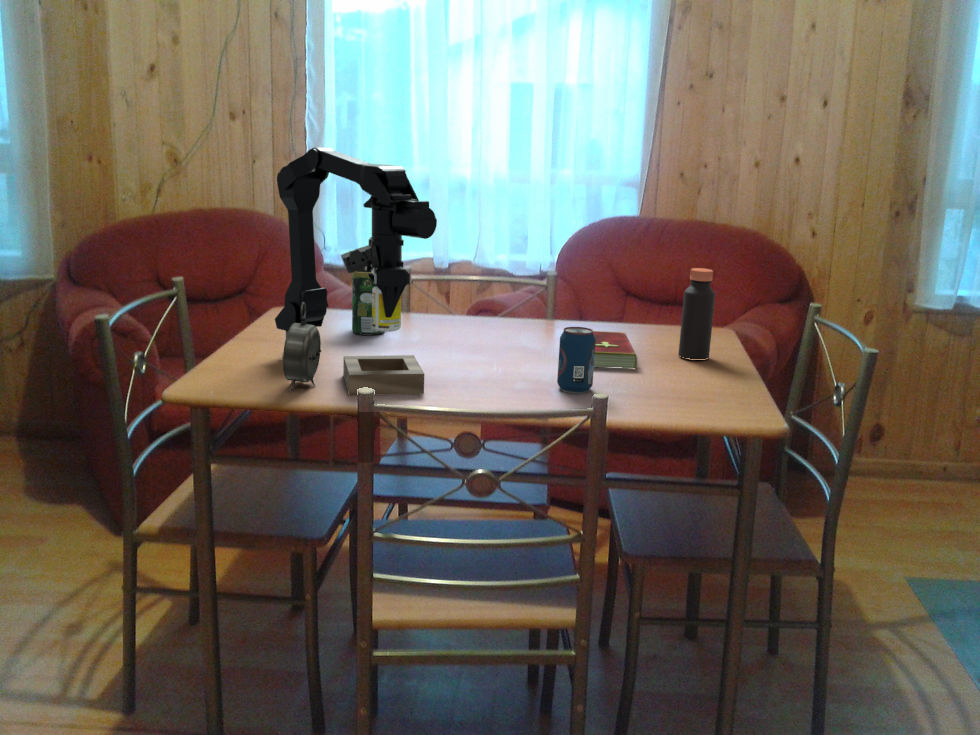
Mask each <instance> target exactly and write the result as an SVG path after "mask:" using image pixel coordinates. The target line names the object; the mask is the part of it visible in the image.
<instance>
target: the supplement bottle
mask: <svg viewBox="0 0 980 735" xmlns="http://www.w3.org/2000/svg"><path fill="white" fill-rule="evenodd" d="M401 325H402V296H401V297H400V299H399V301H398V303H397V305H396V308H395V310H394V312H393V314H392V317H386V316H385V312H384V306H383V300H382V294H381V290H380V289H379V288H378V287H377V286H375V287H374V288H373V289H372V327H373V329H374V330H377V331H382V333H384V332H387V333H388V332H389V333H390V332H391V333H392V332H397V331H398V330H400V329H401Z"/></svg>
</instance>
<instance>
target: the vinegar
mask: <svg viewBox="0 0 980 735" xmlns="http://www.w3.org/2000/svg"><path fill="white" fill-rule="evenodd" d="M689 271H690V272H689V279H690V280H689V282H690V285H689V286H688V287H687V288H686V289H685V290H684V292H683V300H682V301H683V302H682V310H681V312H682V314H681V324H680V332H679V333H680V334H679V344H678V357H679V356H681V357H684V358H690V359H706V358H708V359H709V357H710V351H711V341H712V331H713V321H714V320H713V319H714V310H715V301H716V300H715V299H716V293H715V290H714V289H713V288H712V286H711V284H712V283H713V279H714V278H713V276H714V270H712V269H711V268H710V269H709V268H704V267H703V268H701V267H692V268H691V269H690V270H689Z"/></svg>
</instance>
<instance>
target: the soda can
mask: <svg viewBox="0 0 980 735" xmlns="http://www.w3.org/2000/svg"><path fill="white" fill-rule="evenodd" d="M593 331H594V330H593V329H592V328H589V327H585V326H568V327H567V326H566V327H564V328H563V332H562V333H561V334H560V337H559V347H558V348H559V349H558V365H557V379H556V380H557V381H556V382H557V386H558V387H559V389H560V390H561V391H562V392H564V393H569V394H587V393H588V392H589V391H590V390H591V388H592V386H593V384H594V371H595V370H594V369H595V368H594V358H595V343H596V339H595V337H594V334H593Z"/></svg>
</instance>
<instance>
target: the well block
mask: <svg viewBox="0 0 980 735" xmlns="http://www.w3.org/2000/svg"><path fill="white" fill-rule="evenodd" d="M423 370H424V369H423V368H422V367H421V365H420V364H419V361H418V360H417V358H416V357H415V355H414V354H407V355H406V354H405V355H404V354H401V355H398V354H397V355H394V354H393V355H391V354H390V355H343V380H344V381H345V382H344V383H345V385H346V390H347V392H348V395H349V396H350V397H351V396H358V395H357V389H359V388H363V387H368V388H372V389H374V390H375V395H374V396H388V395H389V396H393V395H424V394H425V372H424V371H423Z"/></svg>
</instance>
